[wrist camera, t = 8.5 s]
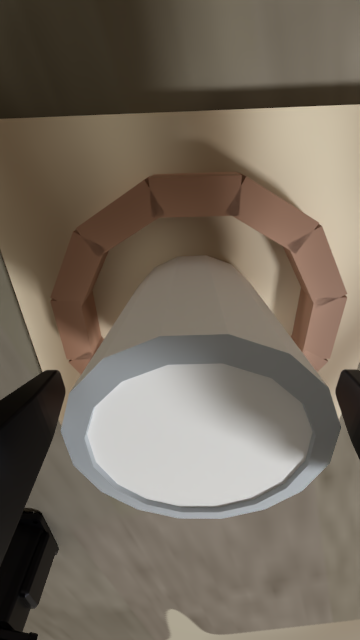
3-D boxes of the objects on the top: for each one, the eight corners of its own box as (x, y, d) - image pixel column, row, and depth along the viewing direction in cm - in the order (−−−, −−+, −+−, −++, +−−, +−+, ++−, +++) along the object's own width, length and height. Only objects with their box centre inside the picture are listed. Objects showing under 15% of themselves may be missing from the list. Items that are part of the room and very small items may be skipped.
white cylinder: (304, 292, 13) (410, 422, 7) (214, 392, 16) (230, 545, 10) (165, 204, 11) (135, 272, 5) (95, 335, 14) (23, 476, 8)
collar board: (66, 411, 18) (50, 447, 16) (-26, 122, 11) (-80, 116, 9) (329, 413, 18) (348, 450, 16) (428, 104, 10) (493, 93, 8)
